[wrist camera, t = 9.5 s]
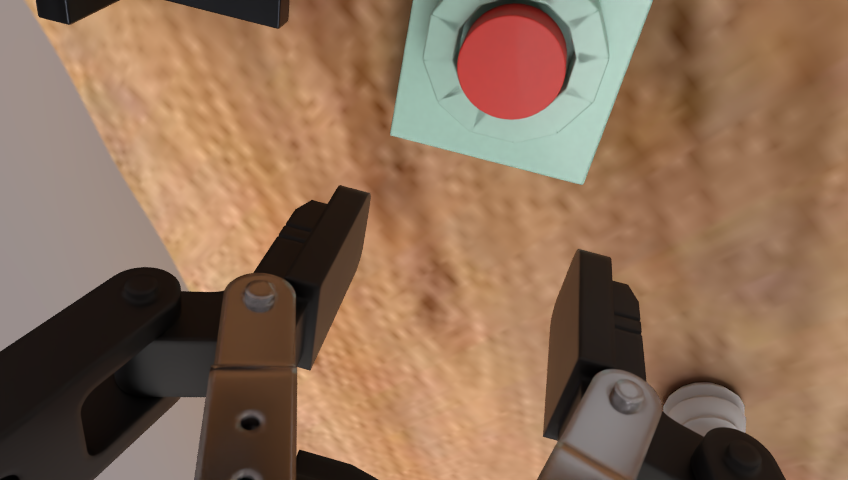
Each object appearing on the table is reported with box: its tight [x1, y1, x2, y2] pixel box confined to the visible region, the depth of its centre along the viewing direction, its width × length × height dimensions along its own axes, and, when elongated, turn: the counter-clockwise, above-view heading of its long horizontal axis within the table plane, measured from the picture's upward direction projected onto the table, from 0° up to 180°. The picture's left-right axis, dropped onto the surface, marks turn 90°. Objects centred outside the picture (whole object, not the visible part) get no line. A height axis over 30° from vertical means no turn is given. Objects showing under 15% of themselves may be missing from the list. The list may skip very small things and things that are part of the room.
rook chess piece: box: [663, 382, 746, 436], centre depth 37 cm, size 4×4×8 cm
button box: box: [390, 0, 653, 185], centre depth 28 cm, size 11×9×4 cm
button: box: [457, 3, 567, 120], centre depth 26 cm, size 4×4×2 cm
